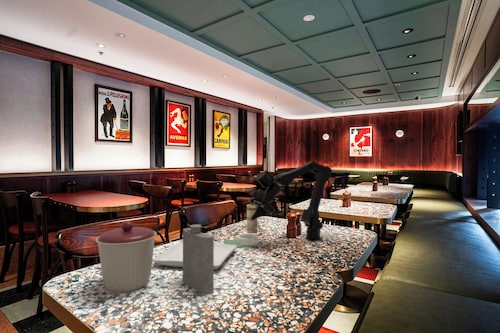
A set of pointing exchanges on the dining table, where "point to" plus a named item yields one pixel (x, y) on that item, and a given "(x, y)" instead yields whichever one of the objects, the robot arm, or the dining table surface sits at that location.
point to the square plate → (176, 255)
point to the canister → (126, 257)
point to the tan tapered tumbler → (251, 223)
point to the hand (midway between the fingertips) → (249, 218)
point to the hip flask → (198, 259)
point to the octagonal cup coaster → (244, 241)
